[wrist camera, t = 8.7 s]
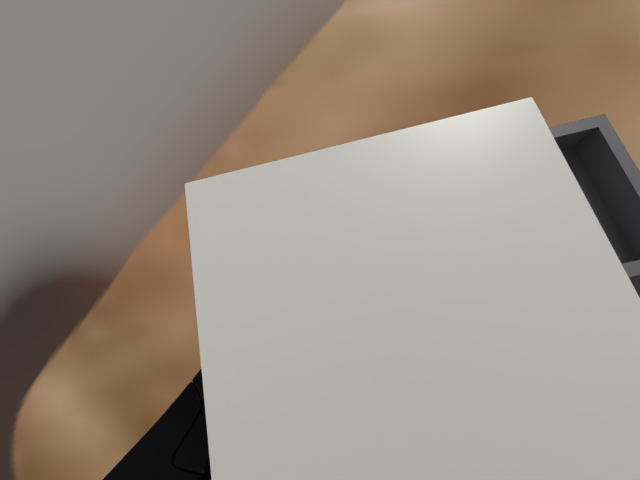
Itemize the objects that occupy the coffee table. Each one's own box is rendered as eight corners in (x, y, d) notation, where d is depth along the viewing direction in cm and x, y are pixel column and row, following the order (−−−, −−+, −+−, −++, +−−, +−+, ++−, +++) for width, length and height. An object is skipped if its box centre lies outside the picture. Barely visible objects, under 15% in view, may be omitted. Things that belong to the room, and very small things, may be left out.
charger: (439, 379, 12) (769, 541, 2) (326, 403, 12) (226, 650, 3) (404, 268, 13) (531, 97, 4) (303, 292, 13) (184, 183, 4)
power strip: (733, 527, 12) (914, 619, 8) (558, 563, 12) (654, 669, 8) (548, 164, 17) (607, 113, 13) (426, 193, 17) (448, 151, 13)
